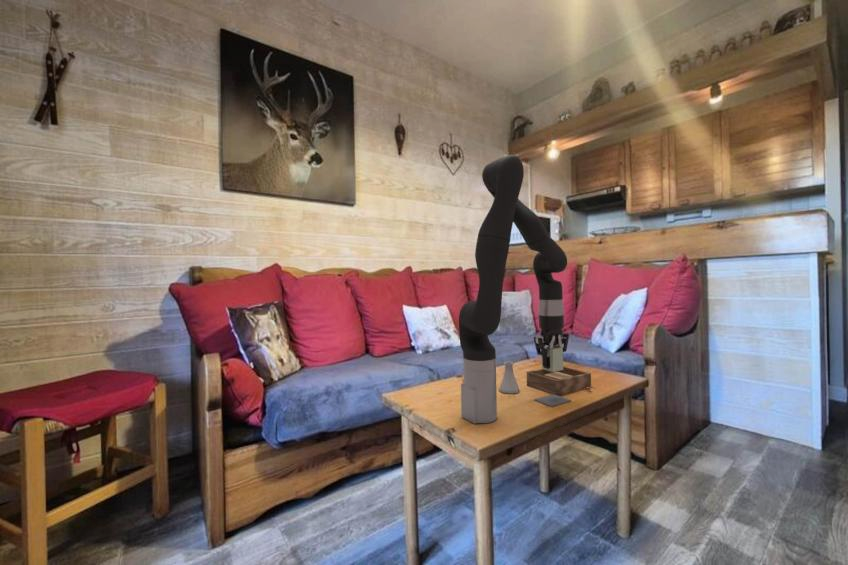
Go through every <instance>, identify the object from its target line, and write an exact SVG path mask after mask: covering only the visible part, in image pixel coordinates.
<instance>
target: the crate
mask: <svg viewBox="0 0 848 565" xmlns="http://www.w3.org/2000/svg"><path fill="white" fill-rule="evenodd" d="M526 386H528V387H530V388H533V389H536V390H539V391H541V392H545V393H548V394H550V395H552V394H555V395H558V396H561V397H562V396H564V395H567V394H572V393H575V392H574V391H576V392H578V391H577V390H579V391H582V390H581V389H583V390H585V389H584V388H587V387H590V386H591V387H592V373H591V372H587V371H583V370H579V369H574V368H571V367H567V366H564V365H563V370H560V371H556V372H552V371H548V370H544V369H542V368H539V369H534V370H530V371H529V370H528V371H526ZM587 389H588V388H587ZM571 392H572V393H571Z"/></svg>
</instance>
